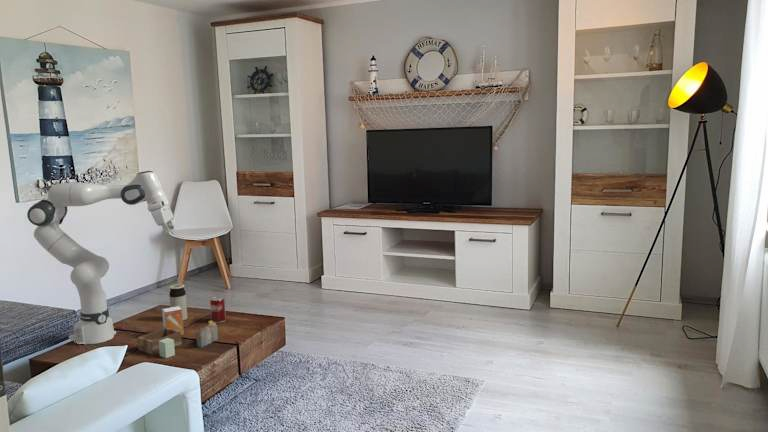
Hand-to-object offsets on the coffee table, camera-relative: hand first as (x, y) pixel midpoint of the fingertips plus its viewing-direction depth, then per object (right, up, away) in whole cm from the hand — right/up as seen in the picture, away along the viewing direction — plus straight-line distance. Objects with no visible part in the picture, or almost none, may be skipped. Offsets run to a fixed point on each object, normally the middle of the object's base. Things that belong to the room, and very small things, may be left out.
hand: (170, 230), depth 275 cm
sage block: (+5, -55, -17) cm, 57 cm away
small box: (-2, -51, +9) cm, 52 cm away
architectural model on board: (+18, -53, -3) cm, 56 cm away
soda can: (+15, -47, +28) cm, 57 cm away
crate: (-2, -53, -7) cm, 54 cm away
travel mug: (-7, -47, +31) cm, 57 cm away
